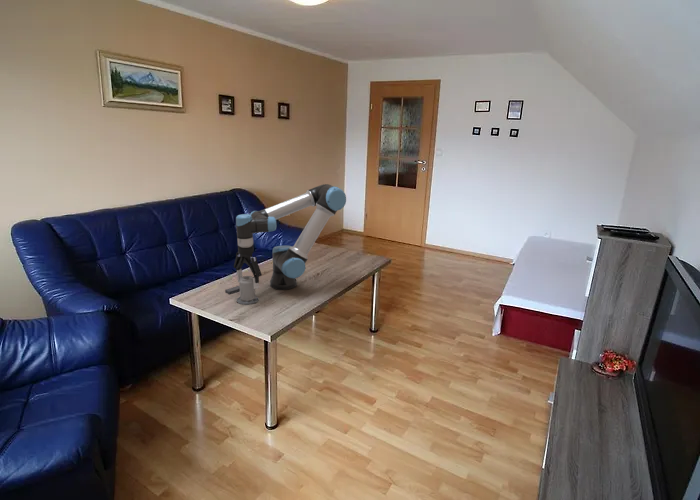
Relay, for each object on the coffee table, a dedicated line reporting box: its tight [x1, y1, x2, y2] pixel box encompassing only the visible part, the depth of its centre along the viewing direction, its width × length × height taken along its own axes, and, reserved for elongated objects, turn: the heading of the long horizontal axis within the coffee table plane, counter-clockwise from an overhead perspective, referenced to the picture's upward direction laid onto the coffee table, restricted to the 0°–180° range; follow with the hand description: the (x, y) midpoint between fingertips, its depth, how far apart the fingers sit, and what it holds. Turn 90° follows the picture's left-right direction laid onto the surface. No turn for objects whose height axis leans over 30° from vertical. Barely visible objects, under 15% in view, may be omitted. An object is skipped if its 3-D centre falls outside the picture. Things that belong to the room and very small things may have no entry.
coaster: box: [236, 295, 259, 306], centre depth 208 cm, size 11×11×1 cm
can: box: [238, 275, 256, 301], centre depth 207 cm, size 8×8×12 cm
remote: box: [224, 285, 240, 295], centre depth 221 cm, size 14×4×2 cm, turn 138°
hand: (248, 285), depth 206 cm, fingers open, 13 cm apart
